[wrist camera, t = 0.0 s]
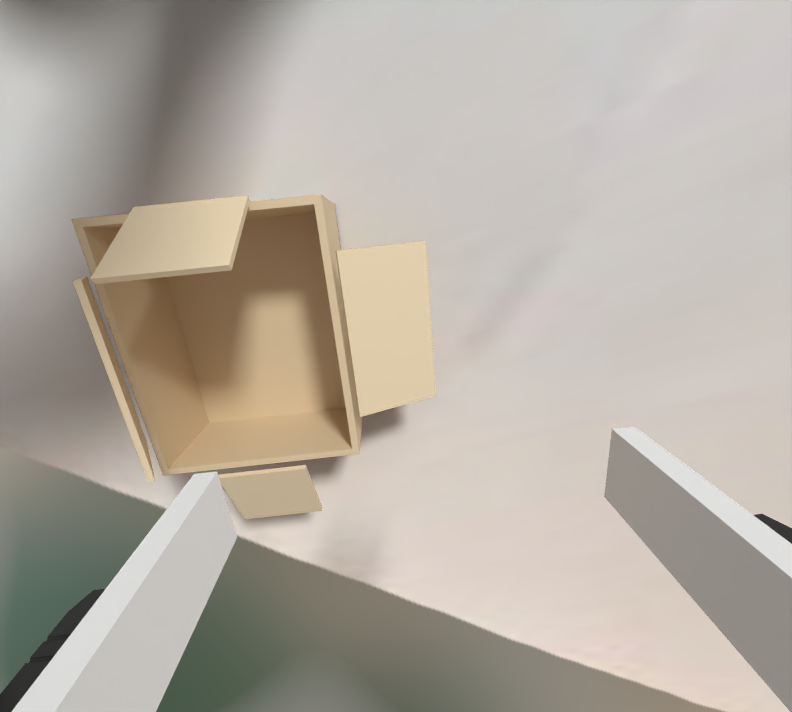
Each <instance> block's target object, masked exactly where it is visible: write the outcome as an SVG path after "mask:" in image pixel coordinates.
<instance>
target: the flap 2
mask: <svg viewBox="0 0 792 712" xmlns="http://www.w3.org/2000/svg"><path fill="white" fill-rule="evenodd" d="M249 203H250V200H249V197H248V196H238V197H228V198H218V199H207V200H197V201H187V202H177V203H167V204H157V205H147V206H137V207H133V208H132V210H131V212H130V213H129V215H128V217H127V218H126V220H125V222H124V223H123V225H122V227H121V228H120V230H119V232H118V233H117V235H116V237H115V238H114V240H113V242H112V243H111V245H110V247H109V248H108V250H107V252H106V253H105V255H104V257H103V258H102V260H101V262H100V263H99V265H98V267H97V268H96V270H95V272H94V273H93V275H92V277H91V278H90V279H91V281H92V282H93V283H94V284H102V283H112V282H122V281H132V280H142V279H151V278H161V277H171V276H181V275H191V274H200V273H210V272H220V271H230V270H232V267H233V263H234V259H235V256H236V252H237V248H238V244H239V240H240V237H241V233H242V229H243V225H244V222H245V218H246V214H247V210H248V206H249Z"/></svg>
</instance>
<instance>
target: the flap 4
mask: <svg viewBox="0 0 792 712" xmlns="http://www.w3.org/2000/svg"><path fill="white" fill-rule="evenodd" d="M335 252H336V259H337V266H338V273H339V280H340V287H341V294H342V301H343V308H344V314H345V321H346V328H347V335H348V342H349V349H350V356H351V363H352V370H353V377H354V384H355V391H356V398H357V405H358V412H359V416H360V417H362V416H366V415H370V414H373V413H377V412H380V411H384V410H388V409H391V408H395V407H398V406H402V405H406V404H409V403H413V402H416V401H420V400H424V399H427V398H431V397H434V396H436V388H435V373H434V358H433V343H432V328H431V312H430V297H429V282H428V267H427V252H426V241H419V242H410V243H401V244H392V245H383V246H375V247H366V248H357V249H348V250H339V251H335Z"/></svg>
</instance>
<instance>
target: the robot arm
mask: <svg viewBox="0 0 792 712" xmlns="http://www.w3.org/2000/svg"><path fill="white" fill-rule="evenodd" d="M604 497H605V498H606V499H607V500H608V501H609V503H610V504H611V505H612V506H613V507H614V508H615V510H616V511H617V512H618V513H619V514H620V515H621V516H622V518H623V519H624V520H625V521H626V522H627V523H628V525H629V526H630V527H631V528H632V529H633V530H634V531H635V533H636V534H637V535H638V536H639V537H640V538H641V540H642V541H643V542H644V543H645V544H646V545H647V546H648V548H649V549H650V550H651V551H652V552H653V553H654V555H655V556H656V557H657V558H658V559H659V560H660V562H661V563H662V564H663V565H664V566H665V567H666V568H667V570H668V571H669V572H670V573H671V574H672V575H673V577H674V578H675V579H676V580H677V581H678V582H679V583H680V585H681V586H682V587H683V588H684V589H685V590H686V592H687V593H688V594H689V595H690V596H691V597H692V598H693V600H694V601H695V602H696V603H697V604H698V605H699V607H700V608H701V609H702V610H703V611H704V612H705V613H706V615H707V616H708V617H709V618H710V619H711V620H712V622H713V623H714V624H715V625H716V626H717V627H718V629H719V630H720V631H721V632H722V633H723V634H724V635H725V637H726V638H727V639H728V640H729V641H730V642H731V644H732V645H733V646H734V647H735V648H736V649H737V650H738V652H739V653H740V654H741V655H742V656H743V657H744V659H745V660H746V661H747V662H748V663H749V664H750V665H751V667H752V668H753V669H754V670H755V671H756V672H757V674H758V675H759V676H760V677H761V678H762V679H763V680H764V682H765V683H766V684H767V685H768V686H769V687H770V689H771V690H772V691H773V692H774V693H775V694H776V696H777V697H778V698H779V699H780V700H781V701H782V702H783V704H784V705H785V706H786V707H787V708H788V709H789V711H790V712H792V528H790V527H788V526H786V525H784V524H782V523H780V522H778V521H776V520H774V519H771V518H769V517H767V516H765V515H763V514H757V515H752V514H751V513H750V512H748V511H747V510H746V509H744V508H743V507H742V506H740V505H739V504H738V503H736V502H735V501H734V500H732V499H731V498H730V497H728V496H727V495H726V494H724V493H723V492H722V491H720V490H719V489H717V488H716V487H715V486H713V485H712V484H711V483H709V482H708V481H707V480H705V479H704V478H703V477H701V476H700V475H699V474H697V473H696V472H695V471H693V470H692V469H691V468H689V467H688V466H687V465H685V464H684V463H683V462H681V461H680V460H679V459H677V458H676V457H675V456H673V455H672V454H671V453H669V452H668V451H667V450H665V449H664V448H663V447H661V446H660V445H659V444H657V443H656V442H655V441H653V440H652V439H651V438H649V437H648V436H647V435H645V434H644V433H642V432H641V431H640V430H638V429H637V428H636V427H626V428H616V429H612V433H611V442H610V451H609V460H608V469H607V478H606V487H605V496H604ZM236 538H237V536H236V532H235V529H234V526H233V522H232V519H231V516H230V512H229V509H228V505H227V502H226V499H225V495H224V492H223V489H222V485H221V482H220V478H219V475H218V472H208V473H199V474H194V475H193V476H192V477H191V479H190V480H189V481H188V482H187V484H186V485H185V486H184V488H183V489H182V490H181V492H180V493H179V494H178V495H177V497H176V498H175V499H174V501H173V502H172V503H171V505H170V506H169V507H168V508H167V510H166V511H165V512H164V514H163V515H162V516H161V518H160V519H159V520H158V522H157V523H156V524H155V525H154V527H153V528H152V529H151V531H150V532H149V533H148V535H147V536H146V537H145V538H144V540H143V541H142V543H141V544H140V545H139V546H138V548H137V549H136V550H135V551H134V553H133V554H132V555H131V557H130V558H129V559H128V561H127V562H126V563H125V565H124V566H123V567H122V569H121V570H120V571H119V572H118V574H117V575H116V576H115V578H114V579H113V580H112V581H111V583H110V584H109V585H108V587H107V588H106V589H101V590H94V591H92V592H91V593H90V594H88V595H87V596H86V597H85V598H84V599H83V600H81V601H80V602H79V603H78V604H77V605H76V606H74V607H73V608H72V609H71V610H70V611H68V613H67V614H66V615H65V616H64V617H63V619H62V620H61V621H60V622H59V624H58V625H57V626H56V627H55V628H54V630H53V631H52V632H51V633H50V634H49V636H48V639H47V641H45V642H43V643H42V644H41V645H40V647H39V648H38V649H37V650H36V651H35V653H34V654H33V655H32V656H31V658H30V662H29V663H26V664H25V665H24V666H23V667H22V669H21V670H20V671H19V672H18V673H17V675H16V676H15V677H14V678H13V680H12V681H11V682H10V683H9V685H8V686H7V687H6V688H5V689H4V690H3V692H2V693H1V694H0V712H156V710H157V708H158V706H159V704H160V702H161V700H162V697H163V695H164V693H165V691H166V689H167V687H168V685H169V682H170V680H171V678H172V676H173V674H174V672H175V670H176V667H177V665H178V663H179V661H180V659H181V657H182V654H183V652H184V650H185V648H186V646H187V643H188V642H189V639H190V637H191V635H192V633H193V631H194V629H195V627H196V624H197V622H198V620H199V618H200V616H201V614H202V611H203V609H204V607H205V605H206V603H207V601H208V599H209V596H210V594H211V592H212V590H213V588H214V586H215V583H216V581H217V579H218V577H219V575H220V573H221V571H222V568H223V566H224V564H225V562H226V560H227V558H228V556H229V553H230V551H231V549H232V547H233V545H234V543H235V540H236Z"/></svg>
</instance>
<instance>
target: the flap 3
mask: <svg viewBox="0 0 792 712" xmlns="http://www.w3.org/2000/svg"><path fill="white" fill-rule="evenodd" d="M219 478H220V482H221V485H222V486H223V488H224V489H225V491H226V492H227V494H228V495H229V497H230V498H231V500H232V501H233V503H234V504H235V506H236V507H237V509H238V510H239V511H240V513H241V514H242V516H243V517H244V519H254V518H263V517H272V516H281V515H290V514H298V513H307V512H316V511H322V505H321V503H320V500H319V498H318V495H317V492H316V490H315V487H314V485H313V482H312V479H311V477H310V474H309V472H308V469H307V466H306V465H301V466H292V467H283V468H274V469H265V470H255V471H246V472H237V473H228V474H219Z"/></svg>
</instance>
